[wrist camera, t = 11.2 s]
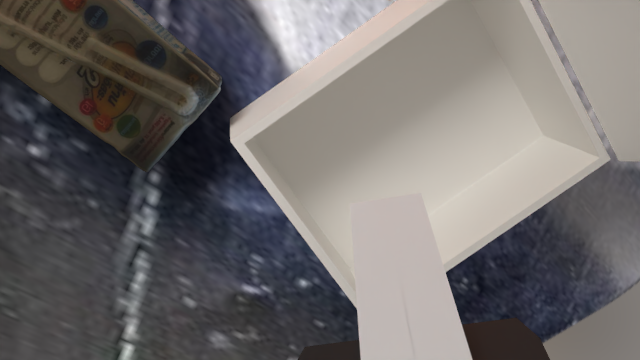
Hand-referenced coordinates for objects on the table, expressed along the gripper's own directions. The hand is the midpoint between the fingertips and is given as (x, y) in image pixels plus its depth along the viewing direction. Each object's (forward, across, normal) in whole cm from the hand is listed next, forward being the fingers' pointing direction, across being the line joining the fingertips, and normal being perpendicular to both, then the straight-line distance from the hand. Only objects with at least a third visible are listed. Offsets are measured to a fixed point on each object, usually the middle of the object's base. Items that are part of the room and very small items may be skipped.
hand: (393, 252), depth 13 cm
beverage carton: (+30, -18, +2) cm, 35 cm away
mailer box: (+32, +2, -10) cm, 33 cm away
